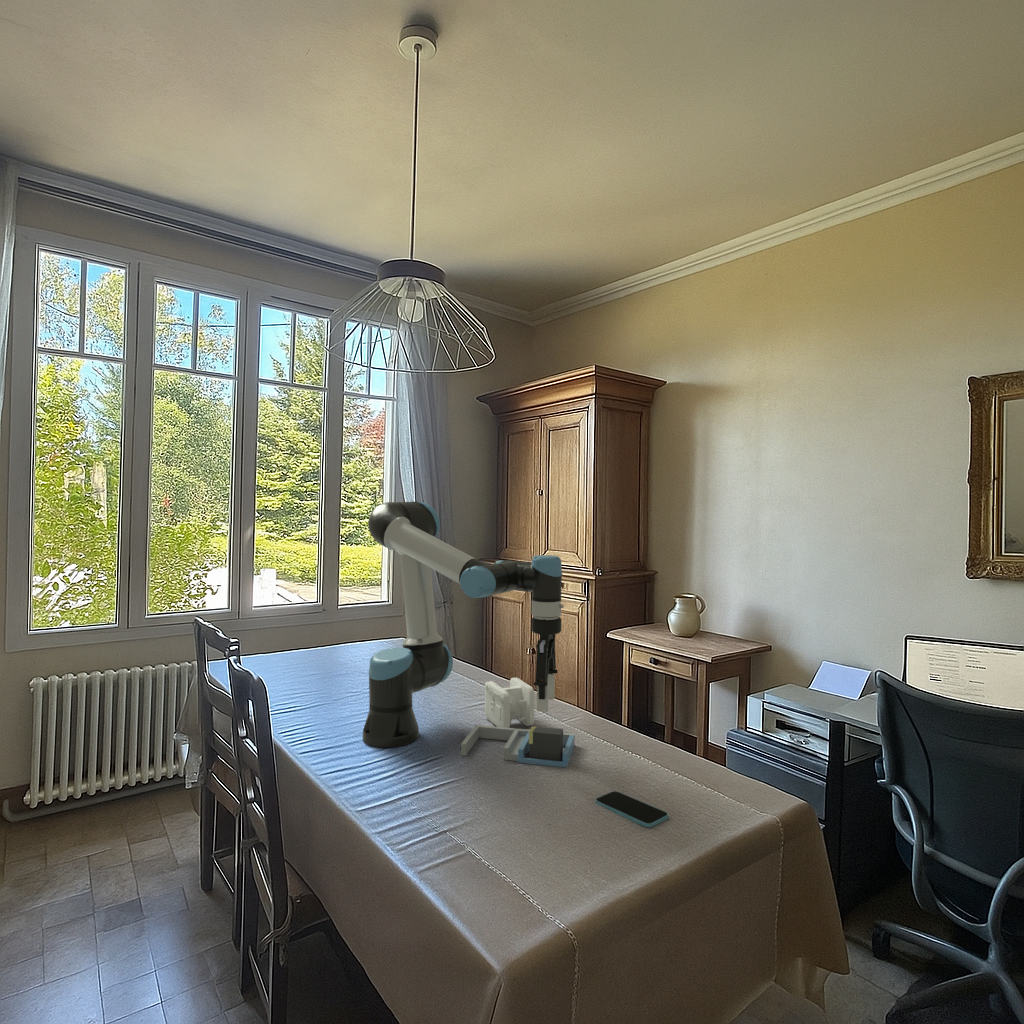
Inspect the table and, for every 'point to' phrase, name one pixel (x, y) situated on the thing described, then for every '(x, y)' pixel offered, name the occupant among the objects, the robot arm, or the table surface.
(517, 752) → the grey frame
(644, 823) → the smartphone
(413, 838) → the table surface
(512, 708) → the cable organizer
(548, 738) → the yellow-capped grey block
